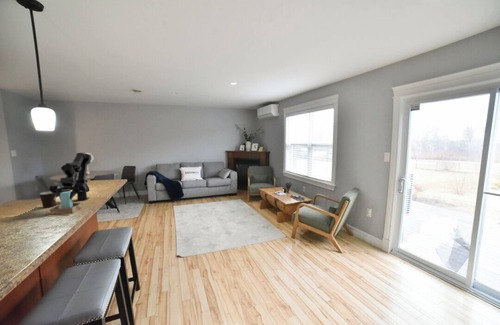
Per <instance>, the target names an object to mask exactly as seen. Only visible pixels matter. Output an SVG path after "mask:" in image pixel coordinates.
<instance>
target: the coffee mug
mask: <svg viewBox="0 0 500 325" xmlns="http://www.w3.org/2000/svg"><path fill="white" fill-rule="evenodd" d="M57 195H58V193H52V192H51V191H50V190H49V191H43V192H40V193H39V197H40V201H41V204H42V208H43V209H49V208H50V209H52V208H54V206H55V207H56V206H57Z"/></svg>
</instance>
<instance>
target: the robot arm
mask: <svg viewBox="0 0 500 325" xmlns="http://www.w3.org/2000/svg"><path fill="white" fill-rule="evenodd" d="M92 159H93V158H92V155H91V154H88V153H85V152H77V153H76V155H75V158H74V159H73V161H72V162H67V163H65V164H63V165H62V166H61V167H60V169H61V171H62V173H63V174H64V176H65V177H60V178H59V179H60V180H59V183H60V184H61V185H62V186H59V185H58V184H55V185H50V186H49V187H48V190H49V191H51V192H52V193H57V195H58V197H59V198H58V199H60V193H62V192H64V191H70V190H71V191H72V192H71V195H70V199H72V200H73V198H74V197H75V196H76V195H77V196H76V197H77V198H76V199H75V202H76V201H79V202H80V201H86V200H88V199H89V198H90V197H88V195H87V194H88V192H90V187H89V185H88V183H87V181H86V178H87V170H88V165H89V164H91V161H92Z"/></svg>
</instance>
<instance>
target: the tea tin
mask: <svg viewBox="0 0 500 325" xmlns="http://www.w3.org/2000/svg"><path fill="white" fill-rule="evenodd" d="M71 192H72V190H71V191H70V190H66V191H63V192H62V193H60V198H59V200H60V205H61V209H65V208H73V203H74V202H73V198H72V199H70V195H71Z"/></svg>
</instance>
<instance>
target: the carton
mask: <svg viewBox="0 0 500 325" xmlns="http://www.w3.org/2000/svg"><path fill="white" fill-rule="evenodd" d="M83 208H85V205H84V203H83V202H73V208H65V209H61V204H59V205H56V206H55V207H51V208H50V209H49V215H48V216H47V217H63V216H70V215H73V214H74V213H76V212H78V211H79V210H81V209H83Z"/></svg>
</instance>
